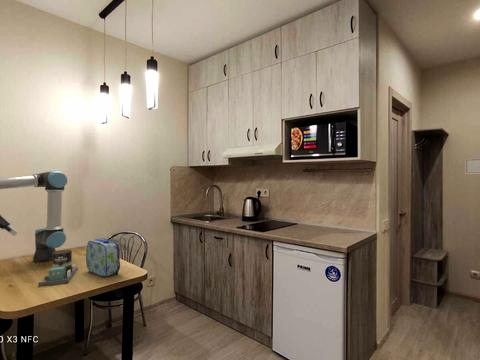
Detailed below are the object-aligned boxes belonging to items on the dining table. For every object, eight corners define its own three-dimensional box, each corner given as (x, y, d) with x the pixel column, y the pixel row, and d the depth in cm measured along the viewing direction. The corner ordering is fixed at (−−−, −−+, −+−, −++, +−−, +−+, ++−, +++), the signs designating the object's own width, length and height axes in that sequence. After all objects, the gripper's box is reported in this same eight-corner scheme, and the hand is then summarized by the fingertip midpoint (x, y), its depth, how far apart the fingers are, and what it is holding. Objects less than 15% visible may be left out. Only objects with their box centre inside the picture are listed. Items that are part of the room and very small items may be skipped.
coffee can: (70, 275, 172) (70, 252, 172) (50, 278, 168) (50, 254, 168) (73, 270, 182) (72, 248, 181) (54, 273, 178) (53, 250, 177)
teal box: (51, 280, 165) (51, 267, 165) (65, 278, 167) (65, 266, 167) (48, 283, 160) (48, 270, 160) (63, 282, 162) (62, 269, 162)
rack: (52, 272, 179) (51, 264, 179) (77, 269, 183) (77, 261, 183) (38, 286, 156) (38, 277, 155) (67, 283, 160) (67, 273, 160)
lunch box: (122, 274, 173) (122, 240, 173) (105, 279, 164) (104, 243, 164) (101, 267, 189) (100, 235, 188) (84, 271, 180) (84, 238, 180)
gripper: (-19, 211, 172) (15, 236, 177) (-31, 214, 160) (6, 240, 165) (-8, 202, 174) (25, 227, 179) (-20, 204, 161) (16, 231, 167)
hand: (16, 234), depth 172 cm, fingers closed
